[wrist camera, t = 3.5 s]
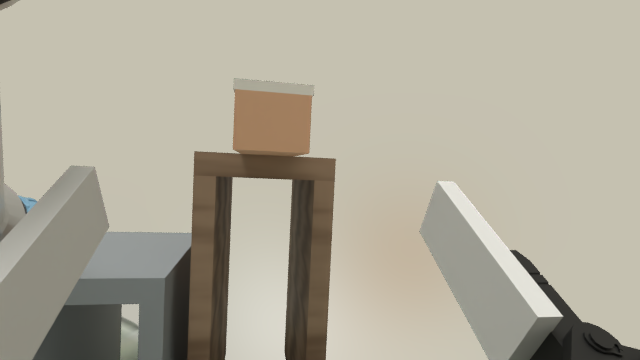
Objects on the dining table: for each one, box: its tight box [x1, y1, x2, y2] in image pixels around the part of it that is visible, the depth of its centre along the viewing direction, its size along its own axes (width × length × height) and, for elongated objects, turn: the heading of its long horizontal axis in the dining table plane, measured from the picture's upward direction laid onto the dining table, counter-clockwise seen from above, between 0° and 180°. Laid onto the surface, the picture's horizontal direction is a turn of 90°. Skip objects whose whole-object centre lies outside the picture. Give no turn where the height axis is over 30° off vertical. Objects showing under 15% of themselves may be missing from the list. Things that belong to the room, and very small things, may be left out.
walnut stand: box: [187, 151, 336, 360], centre depth 41 cm, size 20×12×28 cm, turn 10°
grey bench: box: [32, 232, 192, 360], centre depth 36 cm, size 18×11×18 cm, turn 10°
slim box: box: [233, 78, 314, 157], centre depth 33 cm, size 26×5×4 cm, turn 10°
